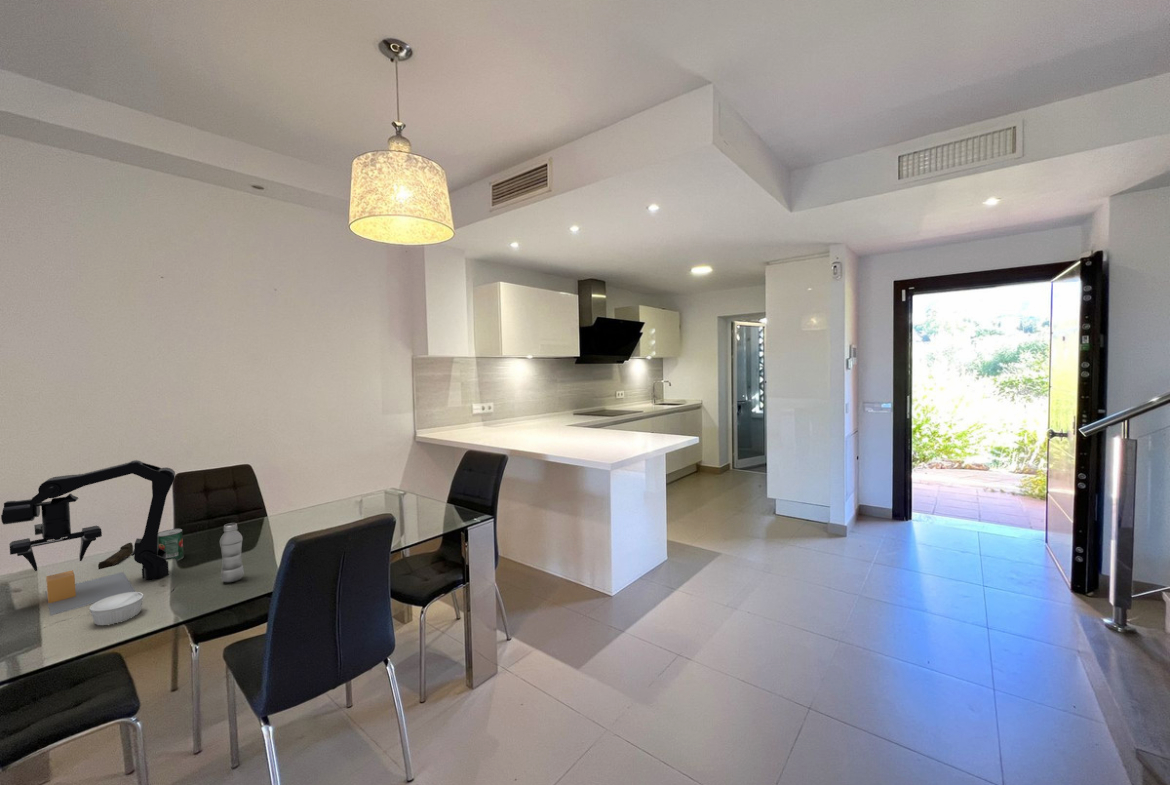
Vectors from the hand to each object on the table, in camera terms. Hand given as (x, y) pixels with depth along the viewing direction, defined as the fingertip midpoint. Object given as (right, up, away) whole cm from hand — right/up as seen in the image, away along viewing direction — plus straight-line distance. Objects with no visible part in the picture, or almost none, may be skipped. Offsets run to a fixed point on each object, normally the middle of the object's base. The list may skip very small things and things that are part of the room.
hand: (59, 565), depth 143 cm
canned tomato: (+5, -10, +32) cm, 34 cm away
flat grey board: (+5, -12, +4) cm, 13 cm away
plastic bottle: (+44, -11, +15) cm, 48 cm away
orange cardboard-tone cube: (0, -10, +1) cm, 10 cm away
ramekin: (+28, -13, -9) cm, 32 cm away
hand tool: (-14, -11, +31) cm, 36 cm away
